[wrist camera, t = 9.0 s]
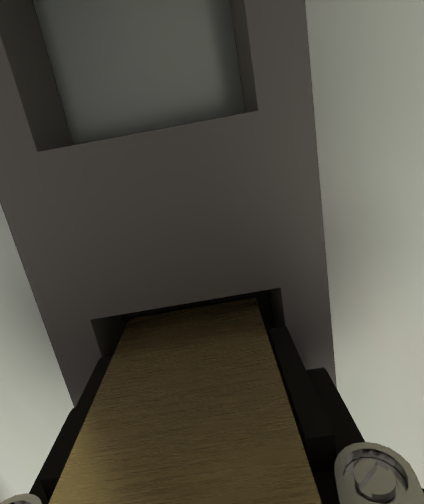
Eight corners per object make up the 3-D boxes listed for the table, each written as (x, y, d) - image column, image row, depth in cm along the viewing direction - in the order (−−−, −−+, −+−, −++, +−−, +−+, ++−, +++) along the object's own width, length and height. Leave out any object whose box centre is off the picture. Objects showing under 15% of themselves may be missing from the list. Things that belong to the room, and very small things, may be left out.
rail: (240, -355, 8) (256, -581, 5) (325, 466, 15) (348, 528, 12) (-104, -274, 8) (-238, -454, 6) (141, 493, 15) (129, 559, 13)
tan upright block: (260, 290, 11) (401, 662, 3) (277, 405, 12) (405, 870, 4) (121, 314, 11) (-83, 725, 3) (152, 425, 12) (63, 908, 4)
